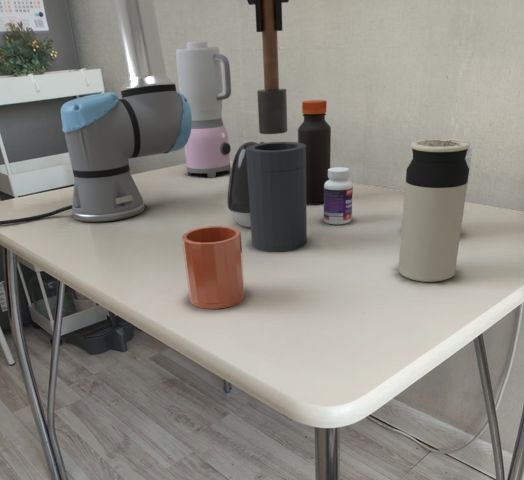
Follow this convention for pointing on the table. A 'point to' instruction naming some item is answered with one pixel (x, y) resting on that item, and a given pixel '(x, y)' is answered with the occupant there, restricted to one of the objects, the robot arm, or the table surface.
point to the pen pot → (214, 266)
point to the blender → (205, 106)
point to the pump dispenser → (239, 187)
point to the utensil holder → (277, 195)
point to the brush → (271, 77)
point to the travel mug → (433, 209)
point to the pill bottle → (338, 196)
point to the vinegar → (315, 148)
